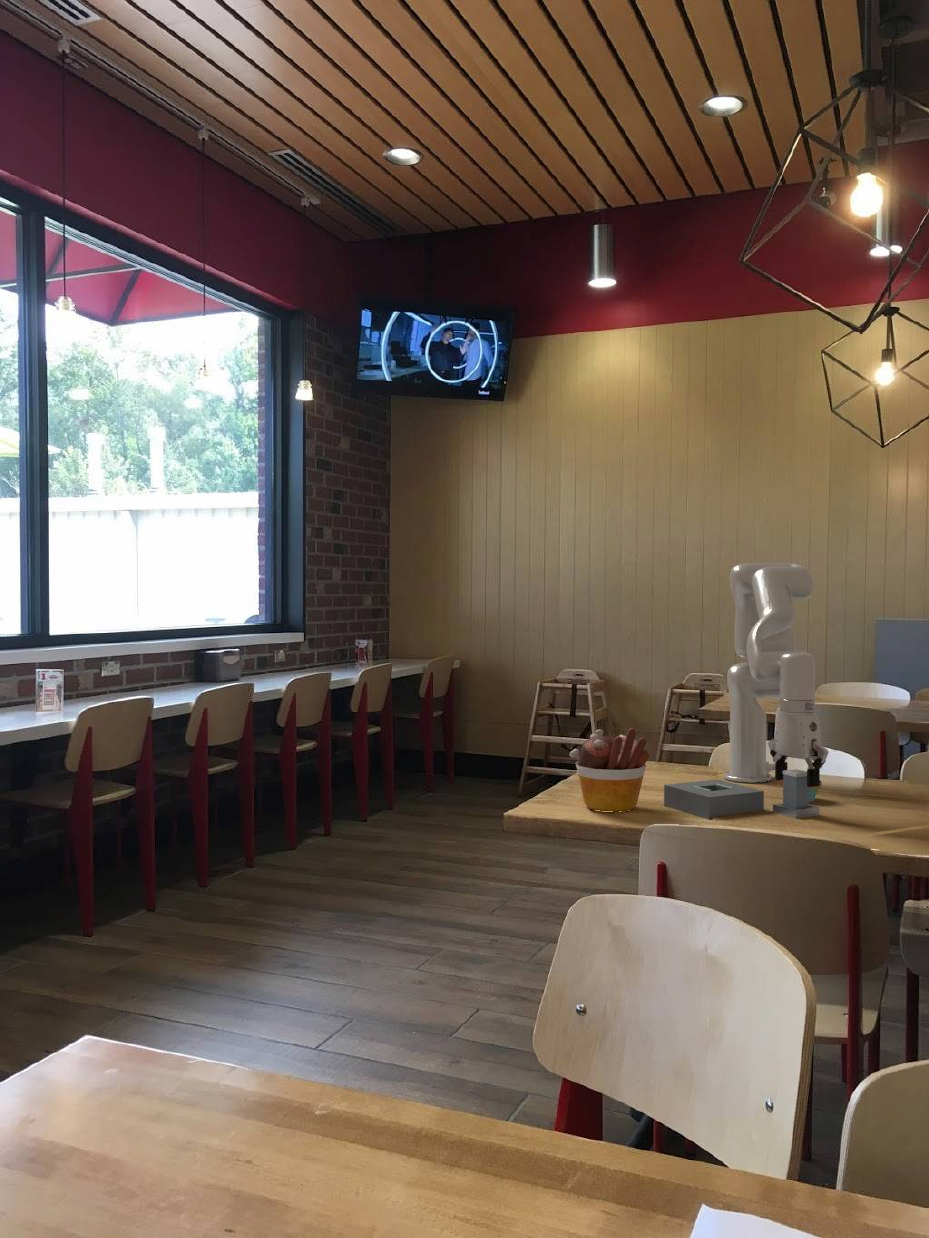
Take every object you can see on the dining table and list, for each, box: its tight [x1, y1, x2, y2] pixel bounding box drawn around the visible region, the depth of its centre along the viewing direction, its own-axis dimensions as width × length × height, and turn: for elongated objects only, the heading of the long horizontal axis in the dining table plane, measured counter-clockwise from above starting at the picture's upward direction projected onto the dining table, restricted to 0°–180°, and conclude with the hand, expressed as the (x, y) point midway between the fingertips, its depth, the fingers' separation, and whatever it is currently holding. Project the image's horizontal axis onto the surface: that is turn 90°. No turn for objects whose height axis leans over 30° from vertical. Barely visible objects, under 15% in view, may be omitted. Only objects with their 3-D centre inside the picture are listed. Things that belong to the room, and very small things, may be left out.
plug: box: [782, 768, 810, 809], centre depth 226 cm, size 4×4×10 cm
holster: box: [772, 802, 821, 819], centre depth 226 cm, size 7×7×2 cm
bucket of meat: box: [569, 727, 650, 812], centre depth 234 cm, size 20×16×20 cm
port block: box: [663, 779, 765, 820], centre depth 233 cm, size 16×16×5 cm
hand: (796, 783), depth 225 cm, fingers open, 9 cm apart
